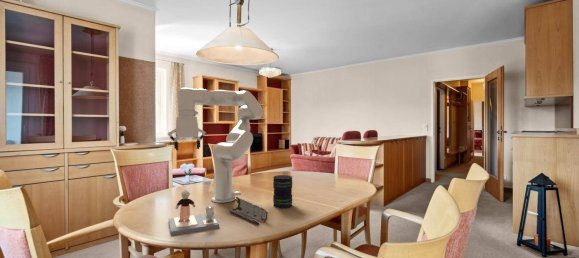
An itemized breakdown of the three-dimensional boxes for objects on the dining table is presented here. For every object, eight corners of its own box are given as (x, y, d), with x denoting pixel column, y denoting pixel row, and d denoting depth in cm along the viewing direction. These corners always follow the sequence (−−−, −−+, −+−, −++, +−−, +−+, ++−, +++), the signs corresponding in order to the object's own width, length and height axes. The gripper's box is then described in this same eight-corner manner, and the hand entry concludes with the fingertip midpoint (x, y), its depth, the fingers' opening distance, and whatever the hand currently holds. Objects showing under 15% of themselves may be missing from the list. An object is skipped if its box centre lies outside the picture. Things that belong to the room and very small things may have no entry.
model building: (233, 215, 138) (264, 230, 119) (225, 207, 134) (255, 221, 116) (243, 202, 141) (274, 215, 123) (234, 194, 138) (265, 206, 119)
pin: (212, 219, 118) (212, 205, 118) (214, 222, 115) (214, 207, 115) (205, 220, 117) (205, 206, 117) (206, 223, 114) (206, 208, 114)
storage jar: (277, 209, 138) (277, 179, 138) (270, 204, 147) (270, 175, 147) (295, 207, 142) (295, 177, 142) (287, 202, 151) (287, 174, 151)
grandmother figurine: (176, 223, 113) (176, 192, 113) (175, 220, 117) (175, 190, 116) (196, 220, 117) (195, 190, 117) (194, 217, 120) (194, 188, 120)
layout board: (211, 216, 128) (211, 212, 128) (219, 227, 114) (219, 223, 114) (168, 222, 120) (168, 217, 120) (171, 235, 106) (171, 230, 106)
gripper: (203, 114, 143) (204, 147, 143) (166, 114, 135) (167, 149, 135) (206, 114, 136) (207, 149, 137) (167, 114, 128) (168, 151, 129)
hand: (187, 149), depth 136 cm, fingers open, 9 cm apart
